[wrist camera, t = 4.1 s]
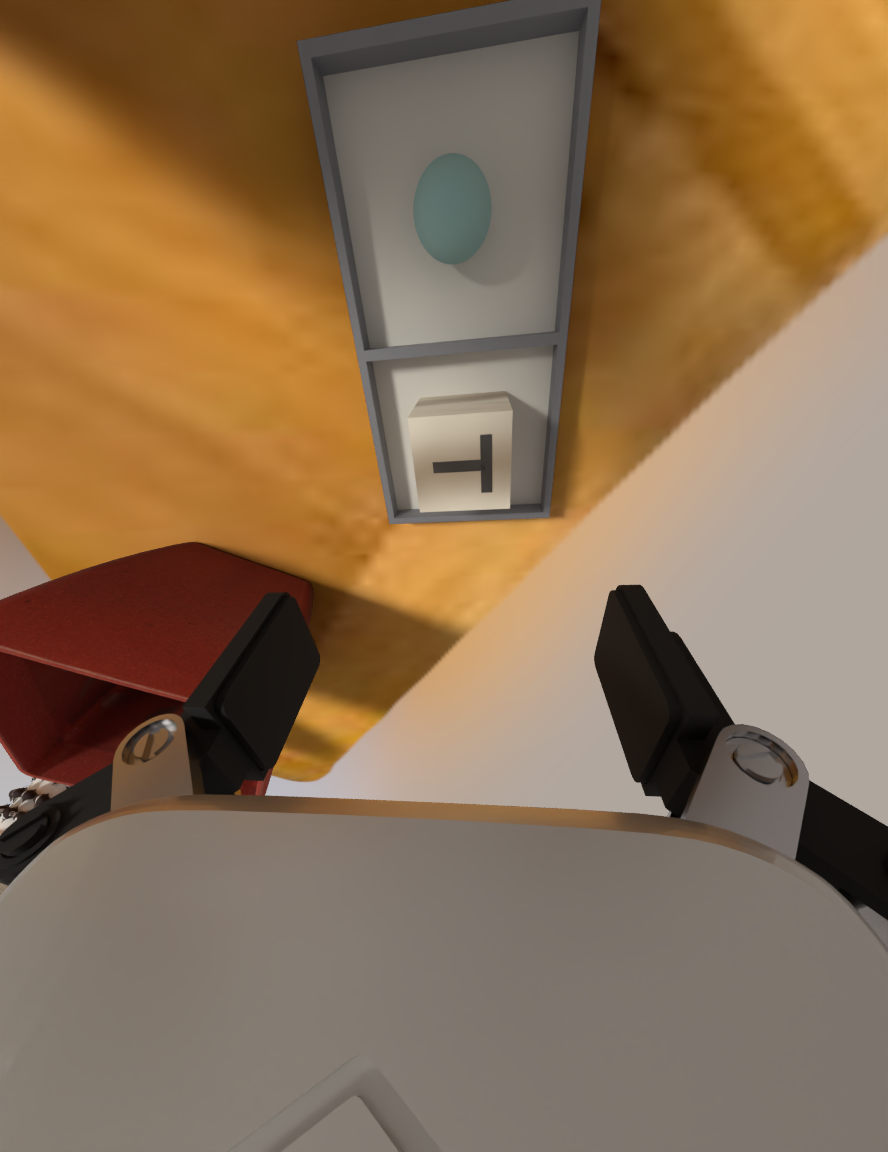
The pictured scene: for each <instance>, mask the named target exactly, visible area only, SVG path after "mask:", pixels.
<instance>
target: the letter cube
mask: <svg viewBox="0 0 888 1152" xmlns="http://www.w3.org/2000/svg"><path fill="white" fill-rule="evenodd" d="M407 419H408V427H409V434H410V442H411V449H412V457H413V464H414V472H415V479H416V487H417V494H418V502H419V509H420V512H442V511H465V510H488V509H510V490H511V455H512V420H513V410H512V407H511V404H510V402H509V399H508V396H507V393H506V391H499V392H486V393H473V394H460V395H447V396H434V397H421V398H420V399H419V400H418V402H417V403H416V405H415V407H414V408H413V410H412V411H411V413H410V415H409V416H408V418H407Z"/></svg>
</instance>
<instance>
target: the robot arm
mask: <svg viewBox="0 0 888 1152" xmlns="http://www.w3.org/2000/svg"><path fill="white" fill-rule="evenodd" d="M594 661H595V667H596V670H597V673H598V676H599V679H600V682H601V685H602V688H603V691H604V694H605V697H606V700H607V703H608V706H609V709H610V712H611V715H612V718H613V721H614V724H615V727H616V730H617V733H618V736H619V739H620V742H621V745H622V748H623V751H624V753H625V757H626V760H627V763H628V766H629V769H630V772H631V775H632V777H633V779H634V781H635V782H641V784H642V787H643V790H644V793H645V795H646V796H660V797H662V800H663V803H664V805H665V808H667V809H668V810H669V813H668V816H667V817H664V816H655V815H646V814H637V813H622V812H607V811H592V810H577V809H559V808H539V807H518V806H497V805H477V804H455V803H432V802H409V801H386V800H364V799H339V798H313V797H285V796H260V795H241V791H240V787H241V785H242V783H243V781H244V779H245V780H252V781H264V779H265V777H266V774H267V772H268V770H269V769H272V768H273V767H274V766H275V764H276V762H277V760H278V758H279V755H280V753H281V751H282V749H283V746H284V744H285V742H286V740H287V737H288V735H289V733H290V731H291V728H292V726H293V724H294V721H295V719H296V717H297V715H298V712H299V710H300V708H301V706H302V703H303V701H304V699H305V697H306V694H307V692H308V690H309V688H310V685H311V683H312V681H313V678H314V676H315V674H316V672H317V669H318V667H319V664H320V655H319V652H318V650H317V648H316V645H315V643H314V640H313V638H312V636H311V633H310V631H309V629H308V626H307V624H306V622H305V619H304V617H303V614H302V612H301V610H300V607H299V605H298V603H297V600H296V599H295V598H294V597H291V595H290V594H289V593H288V592H269V593H267V594H266V595H265V596H264V597H263V598H262V600H261V601H260V602H259V604H258V605H257V606H256V608H255V609H254V610H253V612H252V613H251V614H250V616H249V617H248V619H247V620H246V621H245V623H244V624H243V625H242V627H241V628H240V629H239V631H238V632H237V633H236V635H235V636H234V637H233V639H232V640H231V641H230V643H229V644H228V645H227V647H226V648H225V650H224V651H223V652H222V654H221V655H220V656H219V658H218V659H217V660H216V662H215V663H214V664H213V666H212V667H211V668H210V670H209V671H208V672H207V674H206V675H205V677H204V678H203V679H202V681H201V682H200V683H199V685H198V686H197V687H196V689H195V690H194V691H193V693H192V694H191V695H190V697H189V698H188V699H187V701H186V702H185V703H184V705H183V706H182V708H183V709H184V711H183V713H182V714H181V715H180V716H178V715H176V714H164V715H159V716H156V717H154V718H151V719H149V720H147V721H146V722H144V723H142V724H141V725H139V726H138V727H136V728H135V729H134V730H133V731H131V732H130V733H129V734H128V735H127V736H126V737H125V738H124V740H123V741H122V742H121V743H120V745H119V747H118V748H117V750H116V752H115V755H114V759H113V763H111V764H110V765H108V766H106V767H104V768H103V769H101V770H99V771H98V772H96V773H94V774H92V775H91V776H89V777H87V778H85V779H84V780H82V781H80V782H78V783H77V784H75V785H73V786H71V787H70V788H68V789H66V790H64V791H63V792H61V793H59V794H57V795H56V796H54V797H52V798H50V799H49V800H47V801H45V802H43V803H42V804H40V805H38V806H36V807H35V808H33V809H31V810H30V811H28V812H27V813H25V814H24V815H22V816H21V817H19V818H18V819H17V820H16V821H15V822H13V823H12V824H11V825H10V826H9V827H8V828H6V829H5V831H4V832H3V833H2V834H1V835H0V1152H888V826H886V825H884V824H882V823H881V822H879V821H877V820H876V819H874V818H872V817H871V816H869V815H867V814H865V813H864V812H862V811H860V810H859V809H857V808H855V807H854V806H852V805H850V804H849V803H847V802H845V801H843V800H842V799H840V798H838V797H837V796H835V795H833V794H832V793H830V792H828V791H826V790H825V789H823V788H821V787H820V786H818V785H816V784H814V783H813V782H811V781H809V775H808V771H807V769H806V767H805V765H804V763H803V761H802V760H801V759H800V757H799V756H798V755H797V754H796V752H795V751H794V750H793V749H792V748H791V747H789V746H788V745H787V744H786V743H785V742H784V741H782V740H781V739H779V738H778V737H776V736H774V735H772V734H771V733H769V732H767V731H765V730H762V729H760V728H757V727H754V726H749V725H744V724H738V725H735V724H734V722H733V721H732V719H731V717H730V716H729V714H728V713H727V711H726V709H725V708H724V706H723V705H722V703H721V702H720V700H719V698H718V697H717V695H716V694H715V692H714V690H713V689H712V687H711V685H710V684H709V682H708V681H707V679H706V677H705V676H704V674H703V673H702V671H701V670H700V668H699V666H698V665H697V663H696V661H695V660H694V658H693V657H692V655H691V653H690V652H689V650H688V648H687V647H686V645H685V644H684V642H683V640H682V639H681V638H680V636H679V635H678V634H677V633H675V632H670V631H669V629H668V628H667V626H666V624H665V623H664V621H663V619H662V617H661V616H660V614H659V612H658V611H657V609H656V608H655V606H654V604H653V603H652V601H651V600H650V598H649V596H648V594H647V593H646V591H645V589H644V588H643V587H642V586H641V585H619V586H618V587H617V588H616V590H612V591H610V593H609V596H608V601H607V605H606V609H605V613H604V617H603V622H602V626H601V630H600V634H599V638H598V642H597V646H596V651H595V656H594Z"/></svg>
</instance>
